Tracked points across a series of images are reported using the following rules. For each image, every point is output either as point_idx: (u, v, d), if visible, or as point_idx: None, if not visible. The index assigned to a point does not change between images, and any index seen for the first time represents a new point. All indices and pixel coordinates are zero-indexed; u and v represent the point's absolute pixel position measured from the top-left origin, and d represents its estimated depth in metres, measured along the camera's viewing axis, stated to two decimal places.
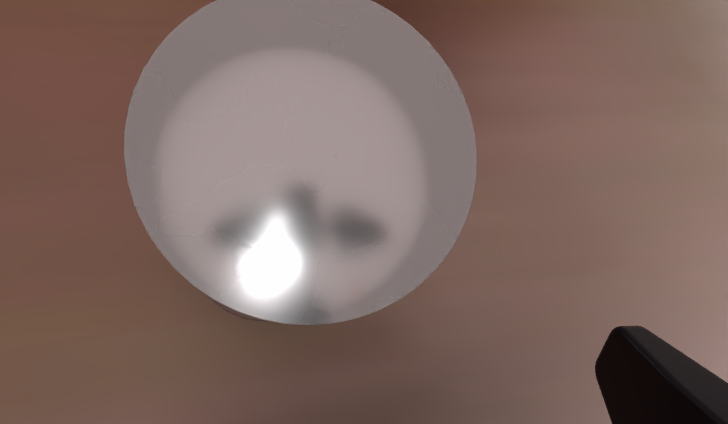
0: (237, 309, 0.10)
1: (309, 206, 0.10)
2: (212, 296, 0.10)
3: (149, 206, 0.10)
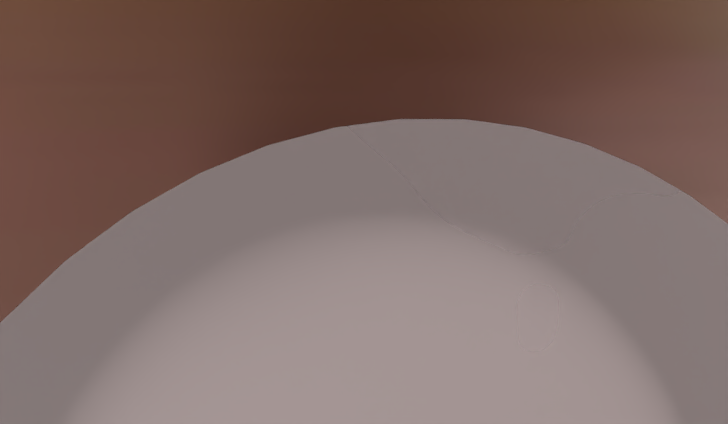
0: None
1: None
2: None
3: None
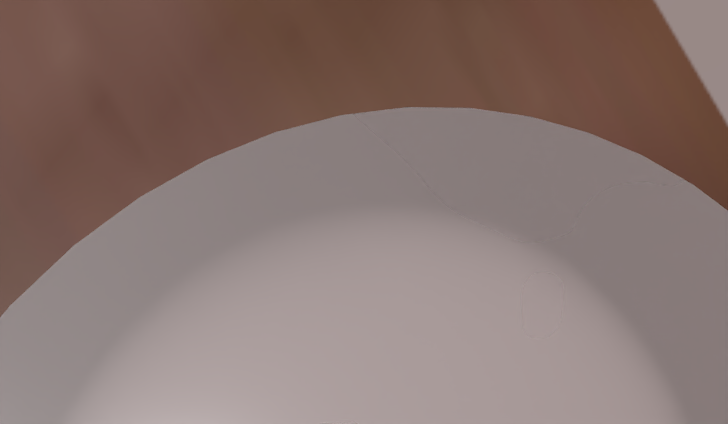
0: None
1: None
2: None
3: None
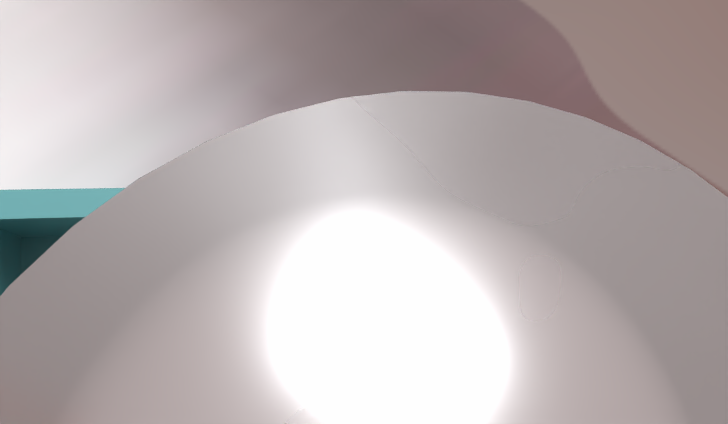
0: None
1: None
2: None
3: None
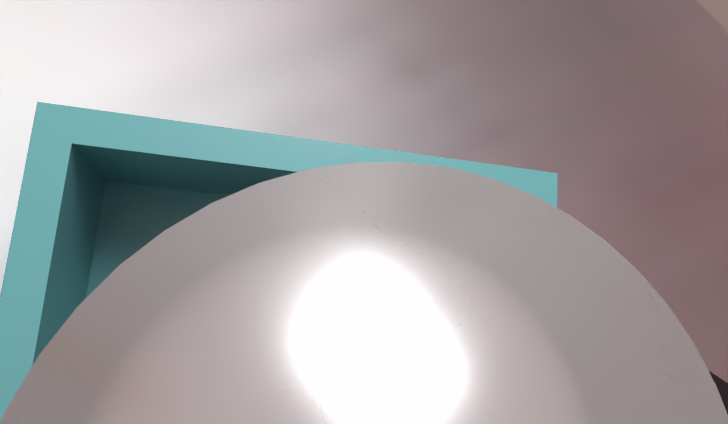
0: None
1: None
2: None
3: None
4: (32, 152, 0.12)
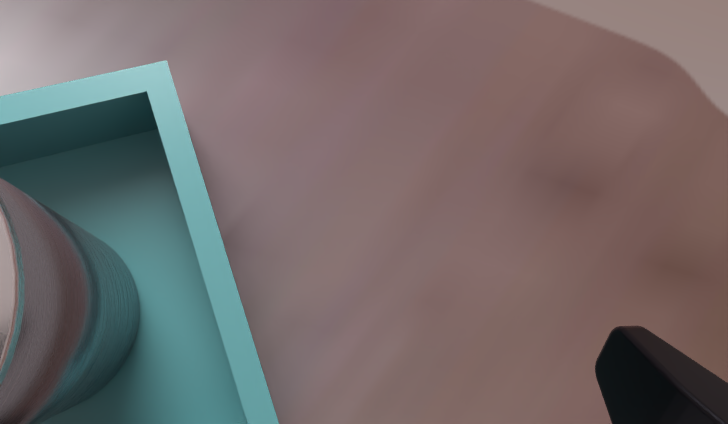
0: None
1: None
2: None
3: None
4: None
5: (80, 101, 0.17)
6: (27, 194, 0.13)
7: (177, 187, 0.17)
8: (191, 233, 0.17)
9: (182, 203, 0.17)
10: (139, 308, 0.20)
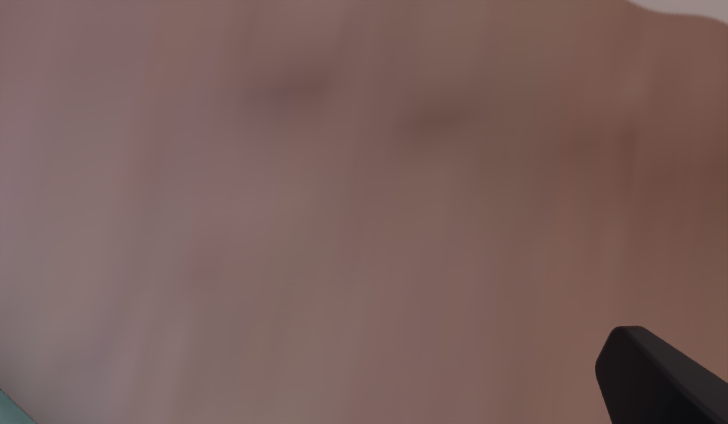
0: None
1: None
2: None
3: None
4: None
5: None
6: None
7: None
8: None
9: None
10: None
